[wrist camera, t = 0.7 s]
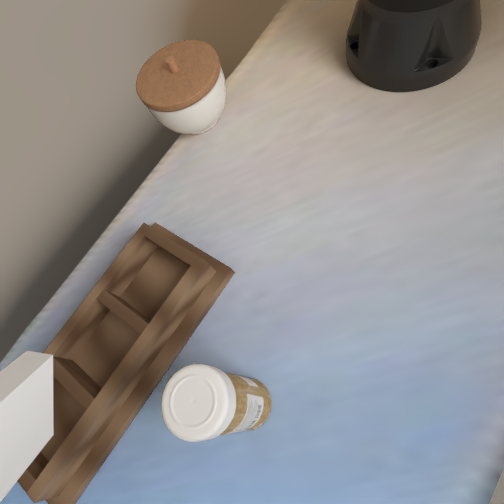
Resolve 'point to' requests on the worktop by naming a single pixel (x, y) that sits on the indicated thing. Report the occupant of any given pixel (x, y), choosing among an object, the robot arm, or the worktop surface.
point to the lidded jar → (184, 87)
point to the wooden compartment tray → (119, 354)
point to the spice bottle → (212, 403)
